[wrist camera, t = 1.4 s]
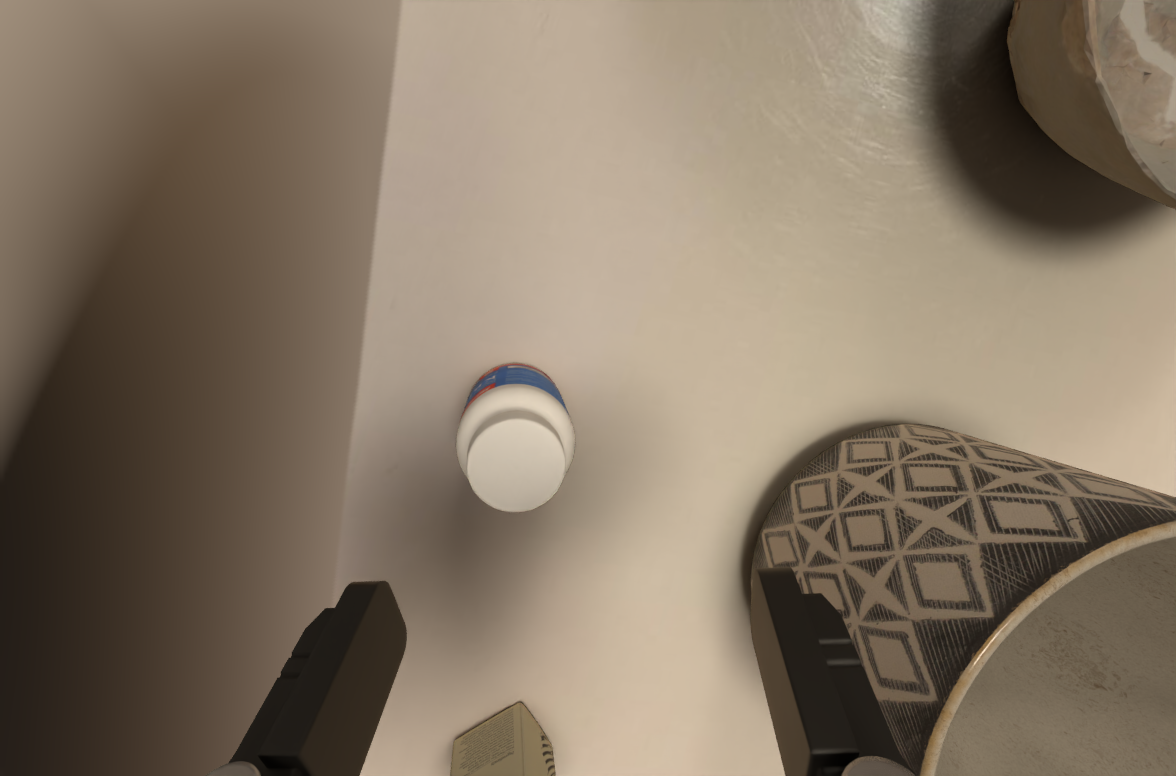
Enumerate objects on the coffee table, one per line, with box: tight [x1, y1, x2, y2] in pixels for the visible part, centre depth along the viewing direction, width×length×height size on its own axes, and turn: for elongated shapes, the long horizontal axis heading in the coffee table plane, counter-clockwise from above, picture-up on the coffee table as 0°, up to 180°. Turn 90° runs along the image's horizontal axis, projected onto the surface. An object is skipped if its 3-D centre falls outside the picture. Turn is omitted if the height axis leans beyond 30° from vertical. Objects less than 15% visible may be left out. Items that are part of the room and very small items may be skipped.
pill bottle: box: [456, 363, 575, 513], centre depth 26 cm, size 6×5×10 cm
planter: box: [751, 424, 1176, 776], centre depth 28 cm, size 19×19×16 cm
